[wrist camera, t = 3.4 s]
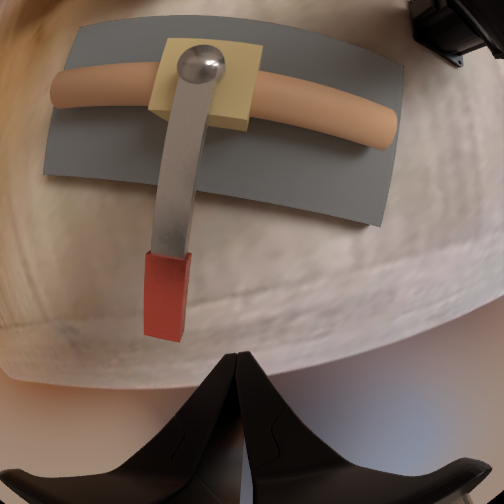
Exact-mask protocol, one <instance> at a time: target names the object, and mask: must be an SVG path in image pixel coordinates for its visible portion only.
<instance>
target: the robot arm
mask: <svg viewBox="0 0 504 504" xmlns="http://www.w3.org/2000/svg"><path fill="white" fill-rule="evenodd" d="M410 3H411V5H410V11H411V21H412V29H413V38H414V39H415V41H417V42H419V43H420V44H422V45H424V46H426V47H427V48H429V49H431V50H433V51H434V52H436V53H437V54H439V55H441V56H442V57H444V58H445V59H447V60H448V61H450V62H451V63H453V64H454V65H456V66H457V67H459V68H460V67H463V56H462V55H464V54H466V53H469V52H471V51H474V50H477V49H479V48H482V47H485V46H487V47H488V48H489V49H490V51H491V52H492V55H493V56H494V58H495V59H504V0H410ZM244 437H245V443H246V448H247V454H248V460H249V466H250V470H251V476H252V484H253V504H474V503H473V501H472V499H471V497H470V495H469V494H468V493H470V492H471V491H472V490H473V489H474V488H475V487H476V486H477V485H478V484H479V483H481V482H482V481H483V480H484V479H485V478H486V477H487V476H488V475H489V473H490V472H491V471H492V467H491V466H490V465H488V464H486V463H485V462H483V461H480V460H475V459H470V458H460V459H458V460H455V461H453V462H451V463H450V464H448V465H446V466H444V467H442V468H441V469H439V470H437V471H434V472H432V473H430V474H426V475H422V476H403V475H397V474H392V473H387V472H382V471H377V470H373V469H369V468H365V467H361V466H358V465H355V464H353V463H351V462H349V461H348V460H346V459H344V458H343V457H342V456H341V455H339V454H338V453H337V452H336V451H334V450H333V449H332V448H331V447H329V446H328V445H327V444H326V443H325V442H324V441H322V440H321V439H320V438H319V437H318V436H316V435H315V434H314V433H313V432H312V431H311V430H310V429H309V428H308V427H307V426H306V425H305V424H304V423H303V422H302V421H301V419H300V418H299V417H298V416H297V415H296V414H295V412H294V411H293V410H292V408H291V407H290V406H289V405H288V404H287V402H286V401H285V399H284V398H283V397H282V395H281V394H280V393H279V391H278V390H277V389H276V387H275V386H274V385H273V383H272V382H271V380H270V379H269V378H268V376H267V375H266V374H265V372H264V371H263V369H262V368H261V367H260V365H259V364H258V362H257V361H256V360H255V358H254V357H253V355H252V354H251V352H249V351H245V352H239V353H238V354H237V353H230V354H225V355H224V356H223V357H222V359H221V360H220V361H219V362H218V364H217V365H216V366H215V367H214V368H213V370H212V371H211V372H210V373H209V375H208V376H207V377H206V378H205V379H204V381H203V382H202V383H201V384H200V386H199V387H198V388H197V389H196V390H195V392H194V393H193V394H192V395H191V396H190V398H189V399H188V400H187V401H186V402H185V403H184V405H183V406H182V407H181V408H180V409H179V410H178V412H177V413H176V414H175V416H173V417H172V418H171V420H170V421H169V422H168V423H167V424H166V425H165V426H164V427H163V428H162V430H161V431H160V432H159V433H158V434H157V435H156V436H154V437H153V438H152V439H151V440H150V441H149V442H148V443H147V444H146V445H145V446H143V447H142V448H141V449H140V450H139V451H138V452H136V453H135V454H134V455H133V456H132V457H130V458H129V459H128V460H127V461H126V462H124V463H123V464H122V465H121V466H119V467H118V468H116V469H114V470H112V471H110V472H107V473H102V474H96V475H87V476H76V477H59V478H44V477H38V476H34V475H31V474H29V473H27V472H25V471H23V470H21V469H7V470H3V471H1V472H0V480H1V481H2V482H3V483H4V484H5V485H6V486H8V487H9V488H10V489H11V490H12V491H14V492H15V493H16V494H18V495H19V496H20V497H21V498H23V499H24V500H25V501H26V502H28V503H29V504H240V490H241V476H242V461H243V447H244ZM0 504H5V503H4V502H2V501H1V500H0ZM487 504H504V490H503V491H502V492H501V493H500V494H499V495H497V496H496V497H495V498H494V499H492V500H491V501H490V502H488V503H487Z"/></svg>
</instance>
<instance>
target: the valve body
mask: <svg viewBox="0 0 504 504" xmlns="http://www.w3.org/2000/svg"><path fill="white" fill-rule="evenodd" d="M203 44H204V45H211V46H214V47H216V48H218V49H219V50H220V51H221V52H222V54H223V56H224V59H225V65H226V73H225V76H224V78H223V79H222V80H221V82H220V83H218V84H217V86H216V91H215V95H214V99H213V104H212V109H211V113H210V118H209V123H208V128H207V133H206V138H205V143H204V148H203V154H202V159H201V165H200V171H199V177H198V183H197V189H196V191H202V192H208V193H214V194H221V195H227V196H233V197H239V198H244V199H250V200H256V201H261V202H267V203H272V204H277V205H282V206H287V207H292V208H297V209H302V210H307V211H312V212H317V213H321V214H326V215H330V216H335V217H339V218H344V219H348V220H352V221H357V222H361V223H365V224H369V225H373V226H377V227H381V223H382V219H383V215H384V210H385V206H386V201H387V197H388V192H389V187H390V182H391V177H392V171H393V166H394V160H395V153H396V147H397V140H398V132H399V124H400V115H401V105H402V93H403V76H404V66H403V65H401V64H399V63H397V62H394V61H392V60H390V59H388V58H385V57H383V56H381V55H379V54H376V53H374V52H371V51H369V50H366V49H364V48H361V47H358V46H356V45H353V44H350V43H347V42H344V41H341V40H338V39H335V38H332V37H328V36H325V35H322V34H318V33H314V32H311V31H307V30H303V29H299V28H294V27H290V26H285V25H280V24H275V23H269V22H263V21H257V20H249V19H241V18H232V17H220V16H201V15H170V16H151V17H139V18H130V19H122V20H115V21H109V22H103V23H98V24H93V25H88V26H83V27H80V28H79V30H78V33H77V35H76V38H75V40H74V43H73V45H72V48H71V51H70V53H69V56H68V59H67V62H66V65H65V68H64V71H61V72H59V73H58V74H57V75H56V76H55V78H54V80H53V82H52V85H51V89H50V98H51V102H52V104H53V105H54V108H53V113H52V118H51V123H50V128H49V134H48V140H47V146H46V153H45V161H44V170H43V175H58V176H72V177H85V178H96V179H106V180H116V181H126V182H135V183H143V184H151V185H158V180H159V173H160V167H161V161H162V155H163V149H164V143H165V138H166V133H167V128H168V123H169V118H170V113H171V109H172V104H173V100H174V96H175V92H176V88H177V84H178V80H179V74H178V72H177V62H178V60H179V58H180V56H181V55H182V54H183V53H184V52H185V51H186V50H187V49H189V48H191V47H193V46H196V45H203Z"/></svg>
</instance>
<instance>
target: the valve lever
mask: <svg viewBox="0 0 504 504" xmlns="http://www.w3.org/2000/svg"><path fill="white" fill-rule="evenodd" d="M177 72H178V74H179V80H178V84H177V88H176V92H175V96H174V100H173V104H172V109H171V113H170V118H169V123H168V128H167V133H166V138H165V143H164V149H163V155H162V161H161V167H160V173H159V180H158V187H157V195H156V203H155V211H154V221H153V231H152V242H151V250H150V251H149V252H148V253H146V259H145V279H144V335H147V336H152V337H156V338H160V339H165V340H170V341H174V342H179V343H180V340H181V338H182V335H183V332H184V326H185V314H186V303H187V292H188V283H189V273H190V264H191V256H192V253H188V246H189V238H190V230H191V223H192V216H193V209H194V202H195V195H196V189H197V183H198V177H199V171H200V165H201V159H202V154H203V148H204V143H205V138H206V133H207V128H208V123H209V118H210V113H211V109H212V104H213V99H214V95H215V91H216V86H217V84H218V83H220V82H221V80H222V79H223V78H224V76H225V73H226V65H225V59H224V56H223V54H222V52H221V51H220V50H219V49H218V48H216V47H214V46H211V45H204V44H203V45H196V46H193V47H191V48H189V49H187V50H186V51H185V52H184V53H183V54H182V55H181V56H180V58H179V60H178V62H177Z"/></svg>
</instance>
